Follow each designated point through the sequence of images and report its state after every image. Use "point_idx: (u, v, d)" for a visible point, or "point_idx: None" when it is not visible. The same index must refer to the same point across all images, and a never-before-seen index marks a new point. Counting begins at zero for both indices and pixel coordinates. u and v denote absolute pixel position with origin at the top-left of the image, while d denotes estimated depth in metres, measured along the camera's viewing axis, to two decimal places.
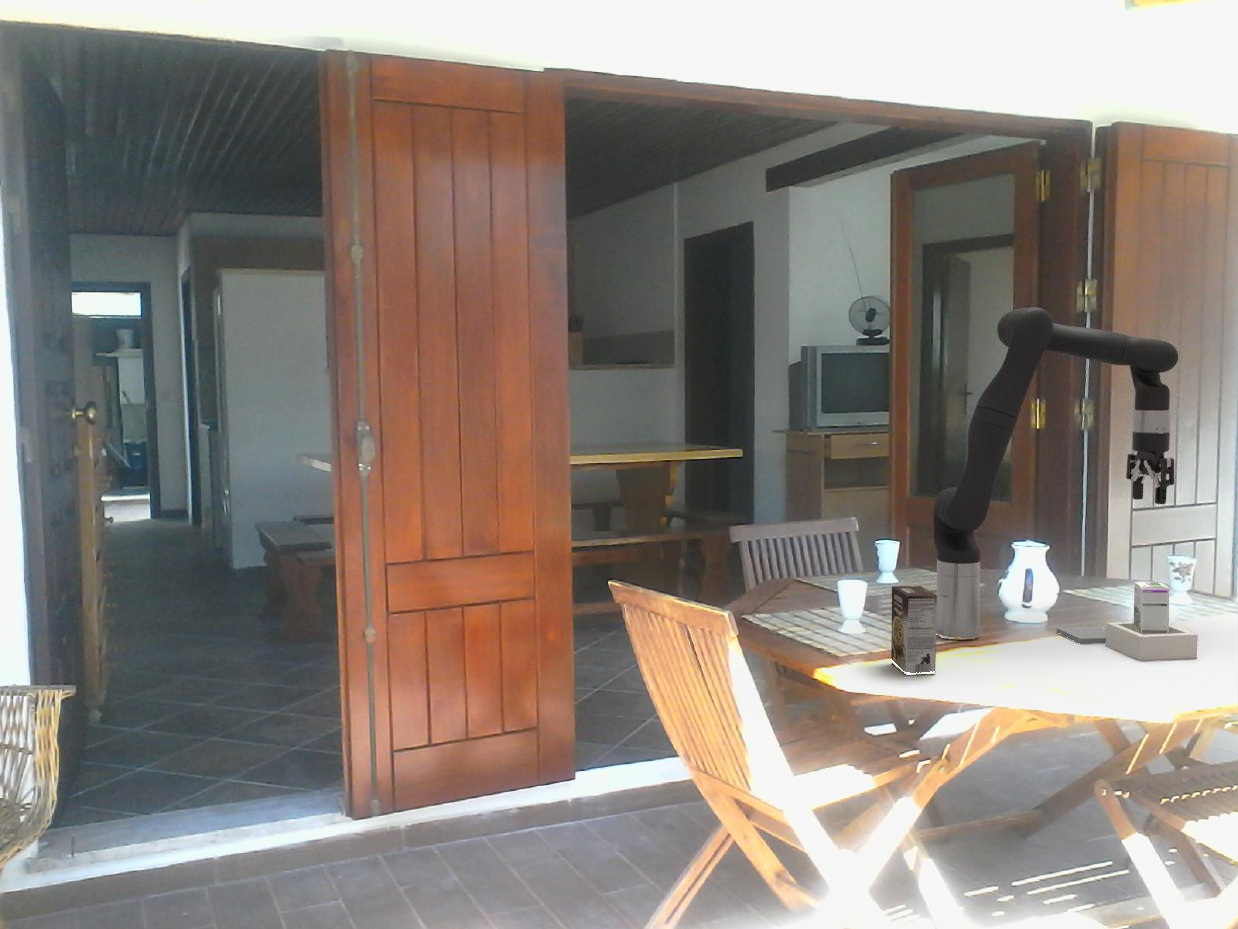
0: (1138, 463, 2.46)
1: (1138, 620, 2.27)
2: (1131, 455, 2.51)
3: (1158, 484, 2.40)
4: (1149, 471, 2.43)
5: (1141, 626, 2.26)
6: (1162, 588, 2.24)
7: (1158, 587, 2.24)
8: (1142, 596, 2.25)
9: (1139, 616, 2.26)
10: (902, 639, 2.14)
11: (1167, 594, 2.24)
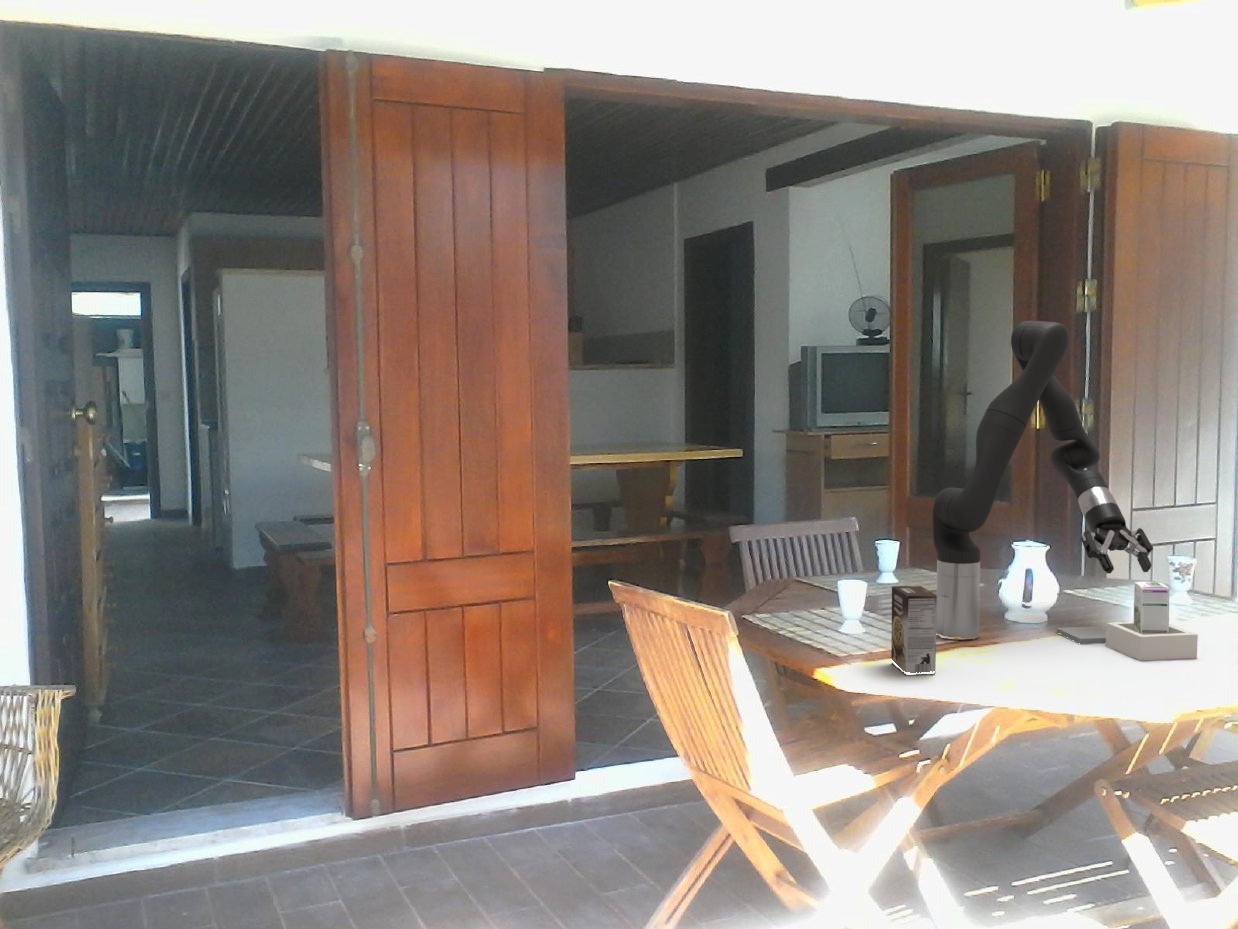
0: (1112, 533, 2.39)
1: (1138, 620, 2.27)
2: None
3: (1145, 550, 2.38)
4: (1130, 539, 2.39)
5: (1141, 626, 2.26)
6: (1162, 588, 2.24)
7: (1158, 587, 2.24)
8: (1142, 596, 2.25)
9: (1139, 616, 2.26)
10: (902, 639, 2.14)
11: (1167, 594, 2.24)
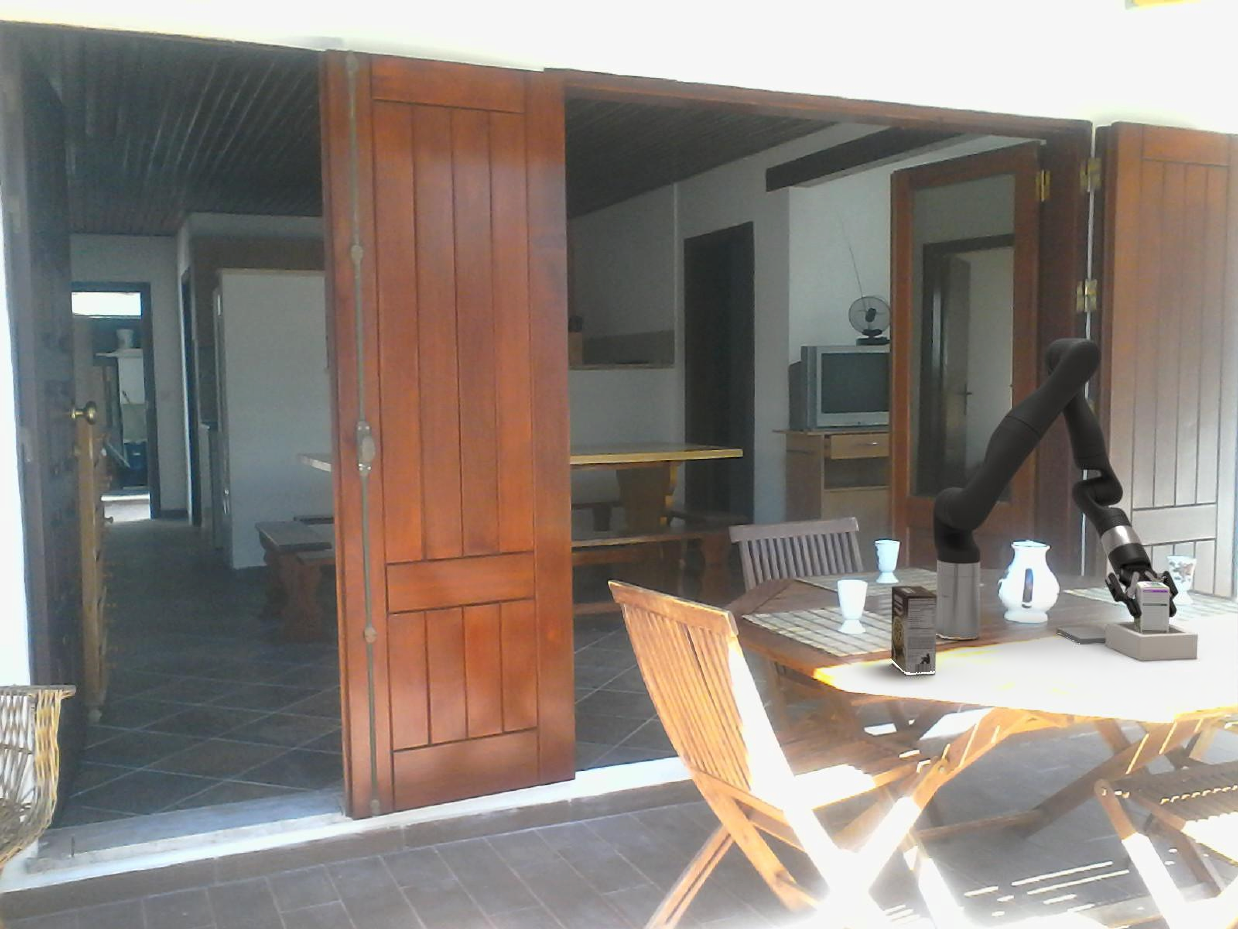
0: (1137, 575, 2.30)
1: (1138, 620, 2.27)
2: None
3: (1170, 594, 2.29)
4: (1155, 581, 2.30)
5: (1141, 626, 2.26)
6: (1162, 588, 2.24)
7: (1158, 587, 2.24)
8: (1142, 595, 2.25)
9: None
10: (902, 639, 2.14)
11: (1167, 594, 2.24)
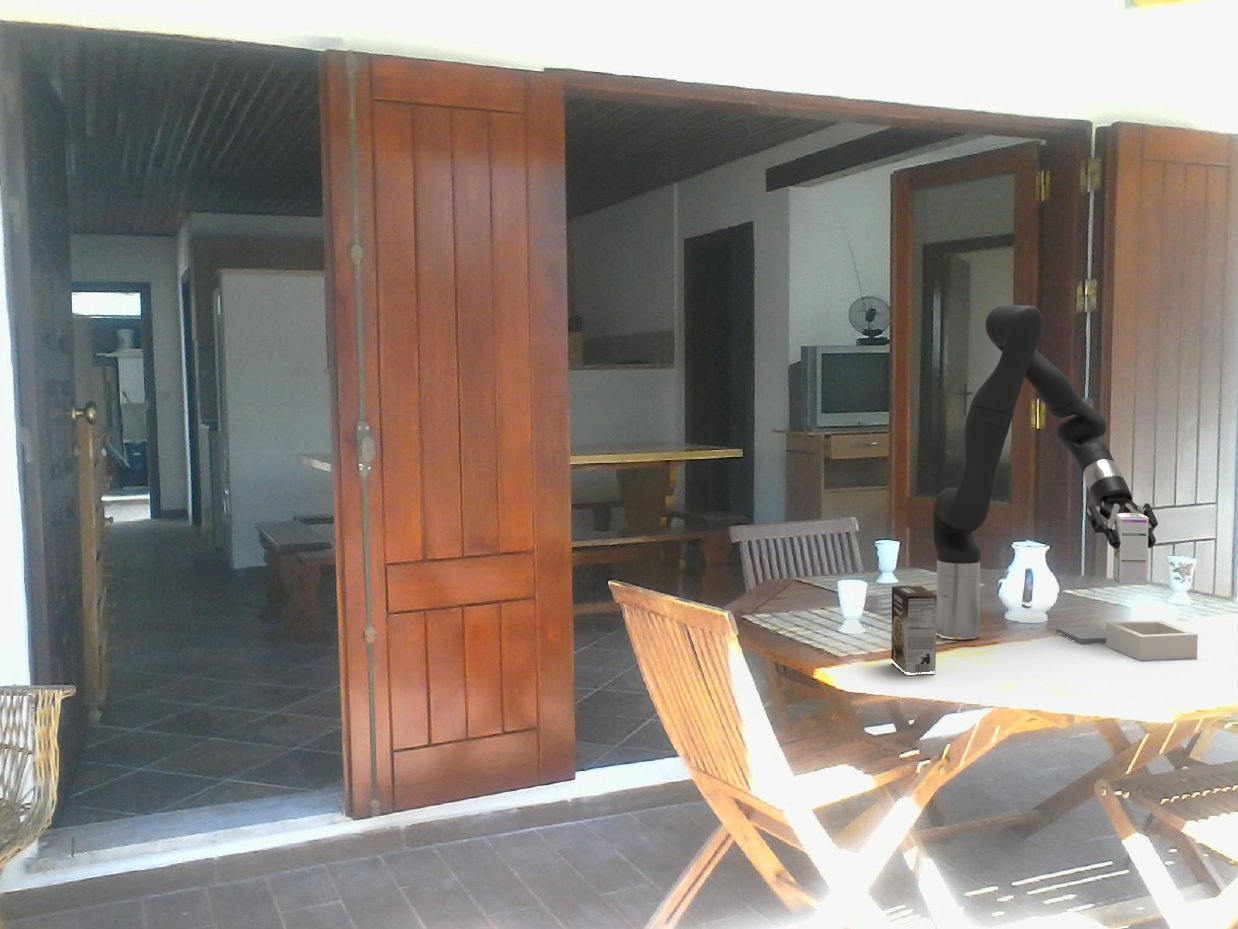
0: (1117, 507, 2.33)
1: (1117, 550, 2.30)
2: None
3: (1150, 525, 2.31)
4: None
5: (1120, 556, 2.28)
6: (1141, 518, 2.27)
7: (1137, 517, 2.27)
8: (1122, 525, 2.28)
9: None
10: (902, 639, 2.14)
11: (1146, 524, 2.27)
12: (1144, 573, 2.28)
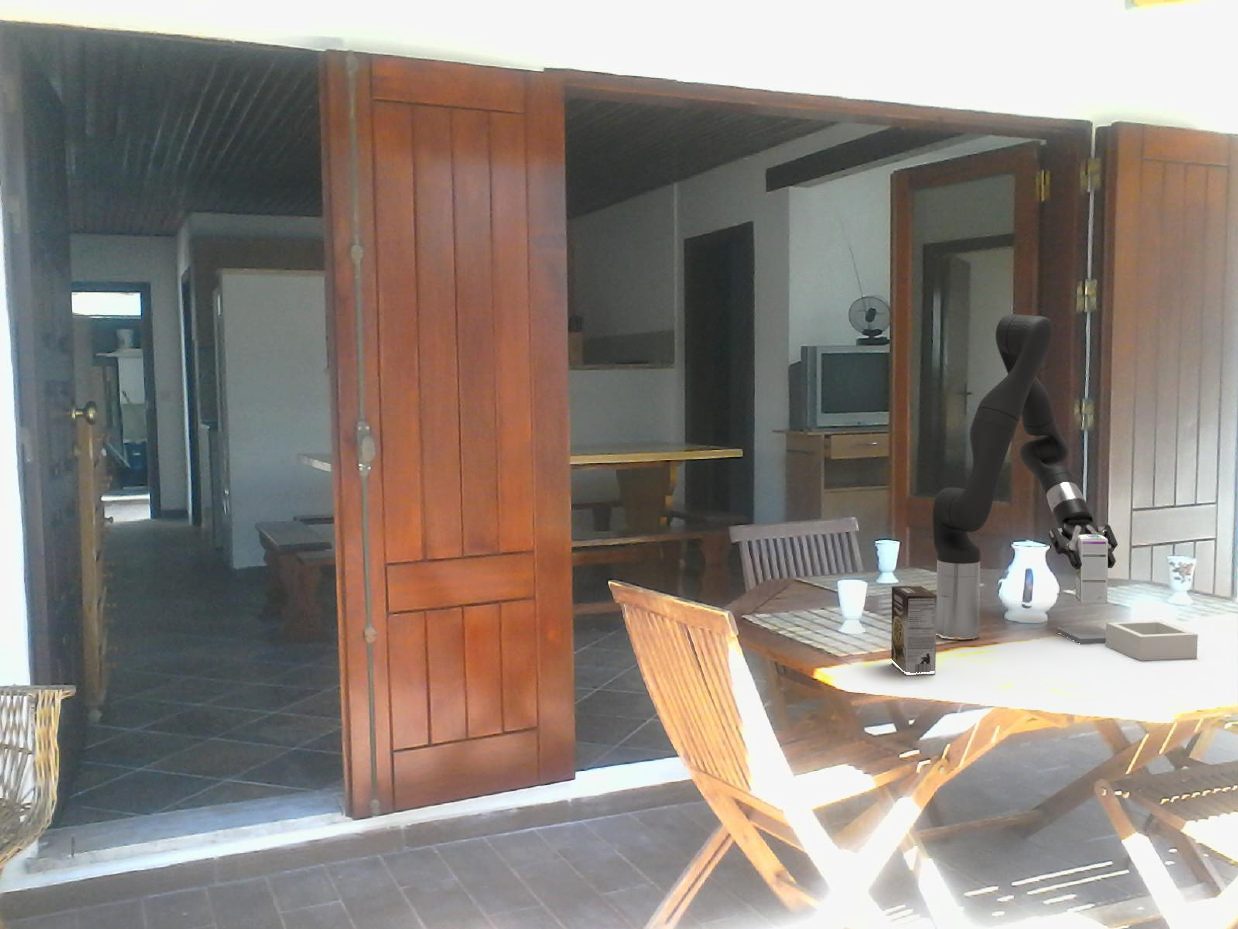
0: (1078, 528, 2.42)
1: (1079, 570, 2.39)
2: None
3: (1110, 546, 2.40)
4: (1096, 534, 2.41)
5: (1081, 576, 2.37)
6: (1101, 540, 2.36)
7: (1097, 539, 2.36)
8: (1082, 547, 2.37)
9: (1080, 567, 2.38)
10: (902, 639, 2.14)
11: (1106, 545, 2.36)
12: (1104, 593, 2.37)
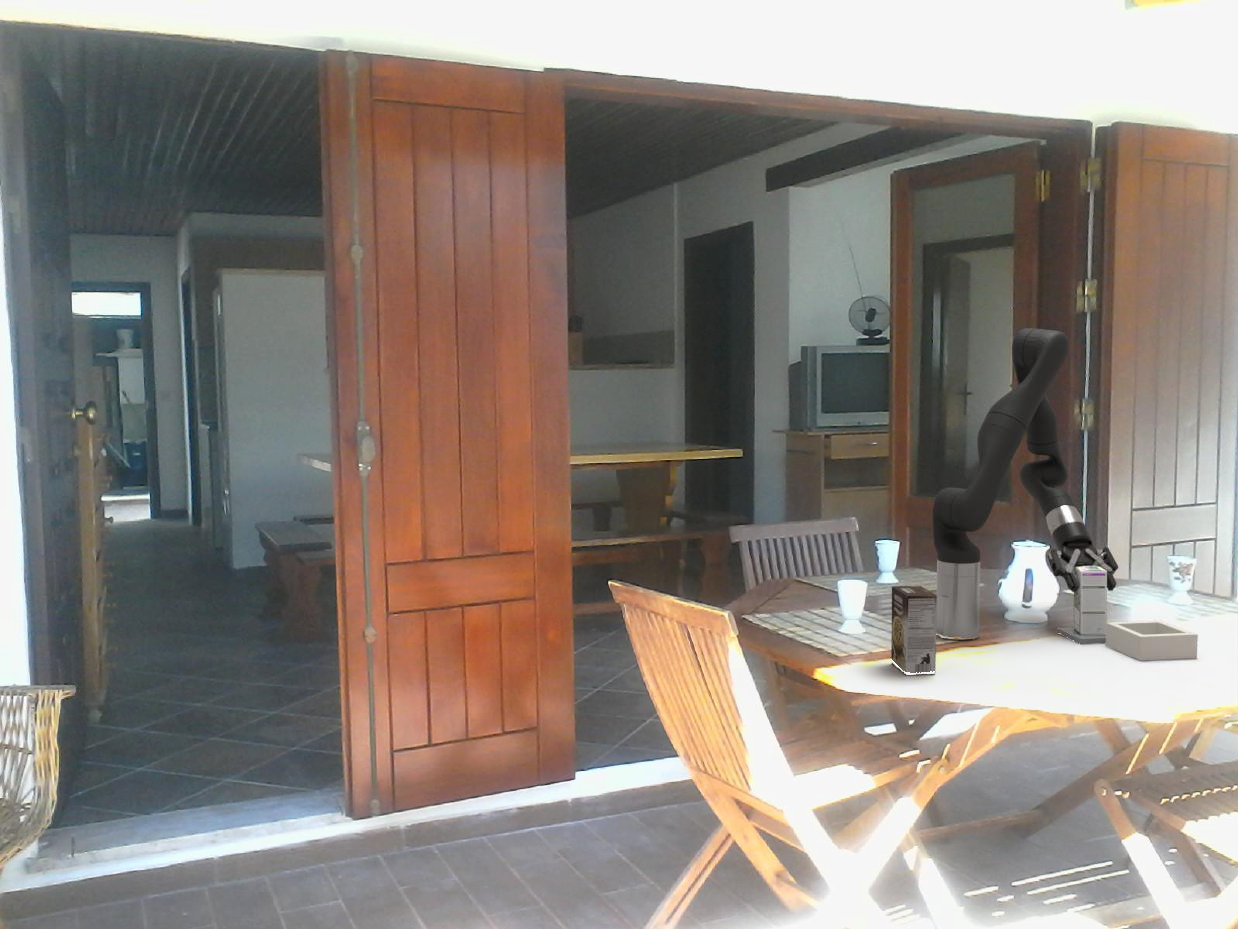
0: (1077, 552, 2.42)
1: (1078, 602, 2.39)
2: None
3: (1110, 568, 2.41)
4: (1096, 558, 2.42)
5: (1081, 608, 2.38)
6: (1100, 571, 2.37)
7: (1096, 570, 2.37)
8: (1082, 579, 2.37)
9: (1079, 598, 2.38)
10: (902, 639, 2.14)
11: (1105, 577, 2.36)
12: (1104, 624, 2.37)
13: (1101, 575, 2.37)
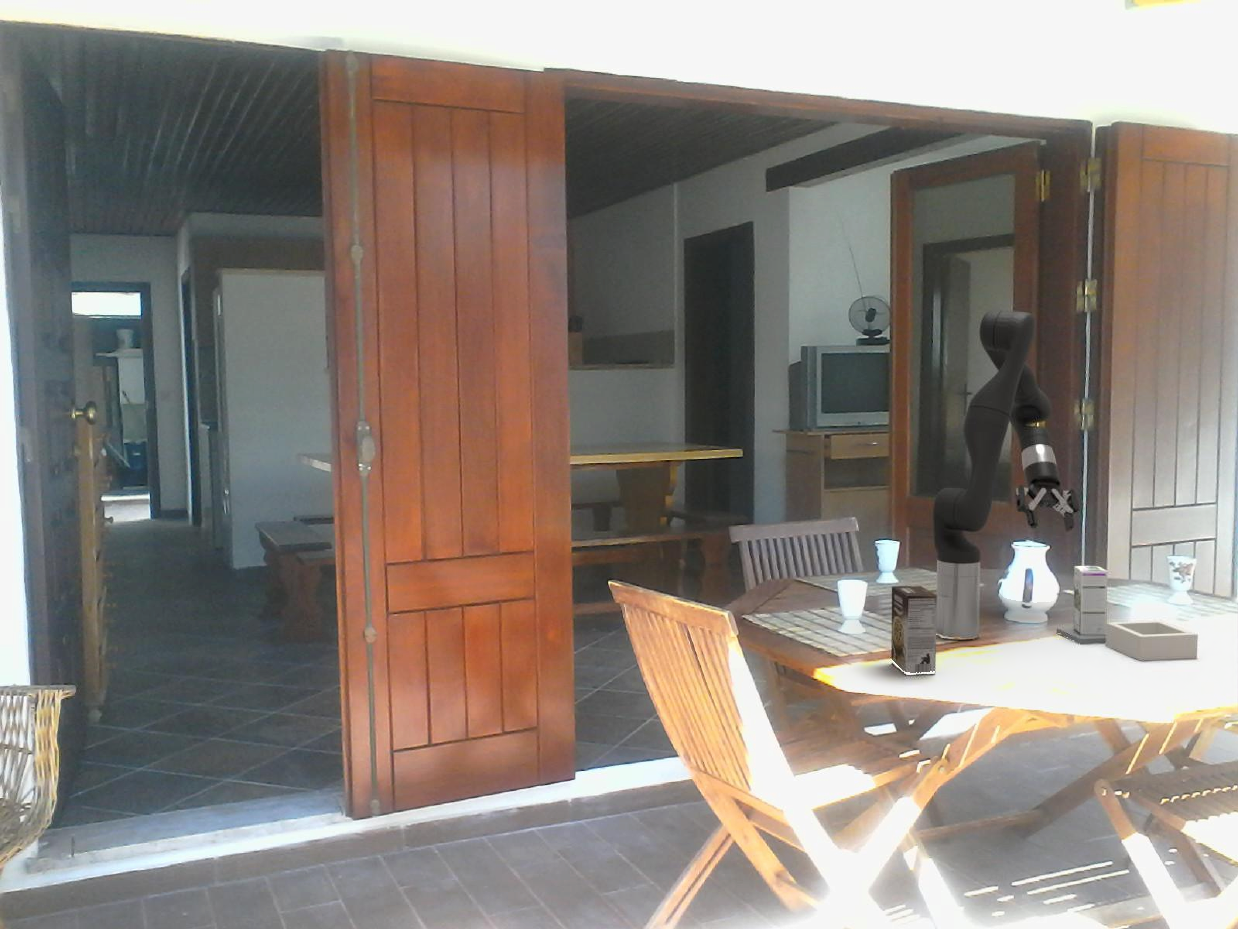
0: (1043, 491, 2.54)
1: (1078, 602, 2.39)
2: None
3: (1071, 510, 2.53)
4: (1060, 498, 2.54)
5: (1081, 608, 2.38)
6: (1100, 571, 2.37)
7: (1097, 570, 2.37)
8: (1082, 579, 2.37)
9: (1079, 598, 2.38)
10: (902, 639, 2.14)
11: (1105, 577, 2.36)
12: (1104, 624, 2.37)
13: (1101, 575, 2.37)
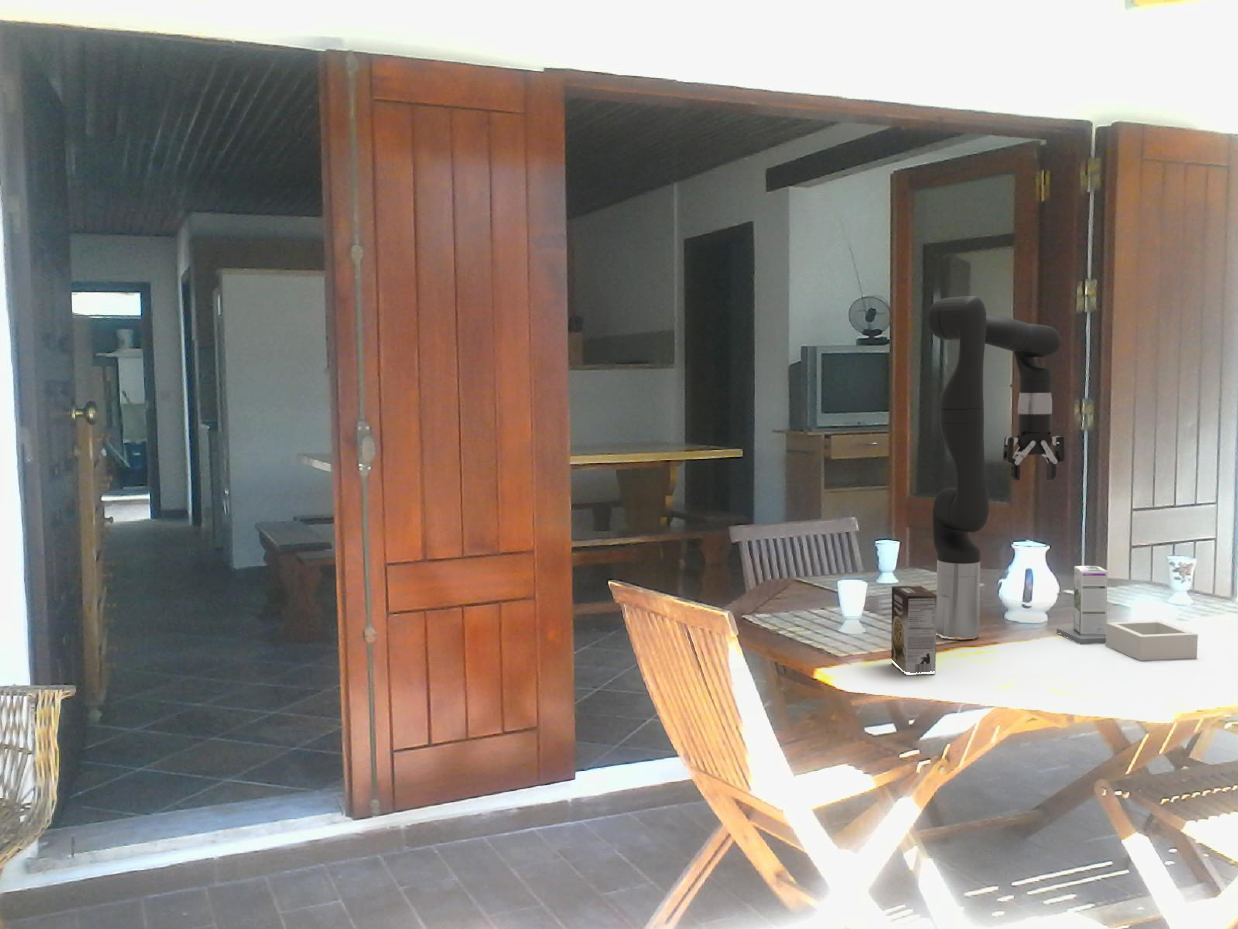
0: (1032, 444, 2.55)
1: (1078, 602, 2.39)
2: None
3: (1056, 461, 2.57)
4: (1047, 450, 2.56)
5: (1081, 608, 2.38)
6: (1100, 571, 2.37)
7: (1097, 570, 2.37)
8: (1082, 579, 2.37)
9: (1079, 598, 2.38)
10: (902, 639, 2.14)
11: (1105, 577, 2.36)
12: (1104, 624, 2.37)
13: (1101, 575, 2.37)
